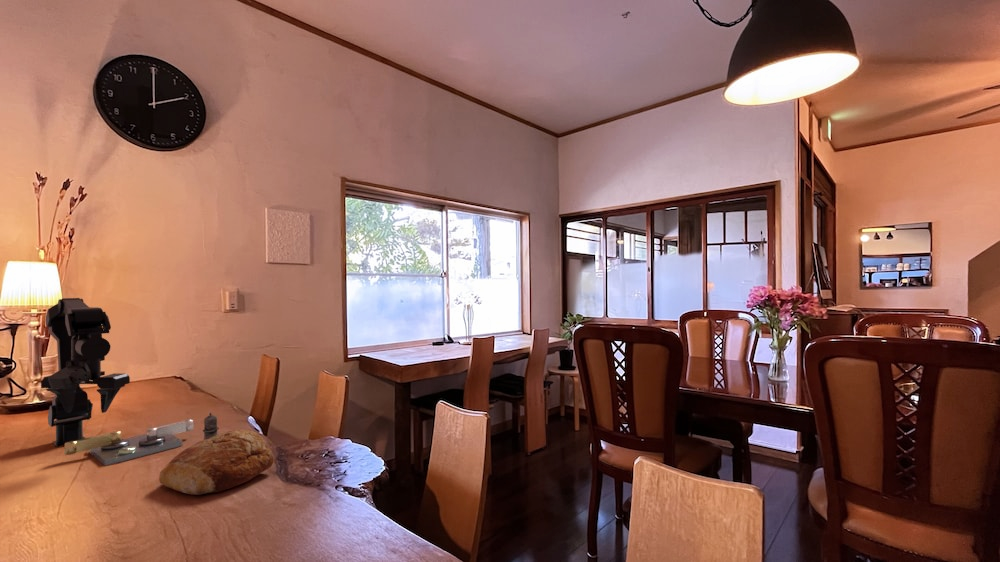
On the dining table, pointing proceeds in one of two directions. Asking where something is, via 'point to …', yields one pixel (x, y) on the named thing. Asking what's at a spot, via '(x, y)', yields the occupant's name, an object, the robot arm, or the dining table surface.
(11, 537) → the dining table surface
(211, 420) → the salt shaker
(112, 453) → the plate
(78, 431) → the robot arm
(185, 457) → the bread
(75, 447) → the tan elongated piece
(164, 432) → the silver lever handle
